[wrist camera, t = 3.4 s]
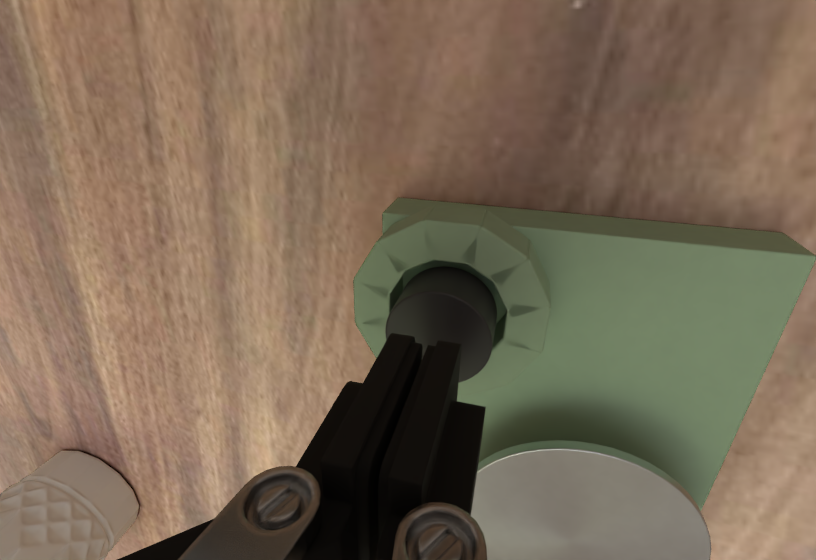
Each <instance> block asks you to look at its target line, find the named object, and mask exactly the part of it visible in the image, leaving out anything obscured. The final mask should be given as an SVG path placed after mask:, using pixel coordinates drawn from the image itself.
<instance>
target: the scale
mask: <svg viewBox="0 0 816 560" xmlns="http://www.w3.org/2000/svg"><path fill="white" fill-rule="evenodd" d="M382 225H383V235H382V236H381V237H380V238H379V239H378V241H377V242H376V243H375V245H374V247H373V248H372V250H371V251H370V253H369V255H368V256H367V258H366V259H365V261H364V263H363V264H362V266H361V267H360V269H359V271H358V272H357V274H356V276H355V277H354V281H353V283H354V310H355V323H356V326H357V327H358V329H359V331H360V332H361V334H362V336H363V337H364V339H365V340H366V342H367V344H368V345H369V347H370V349H371V350H372V352H373V353H374V355H375V357H376V358H377V357H378V355H379V353H380V352H381V350H382V348H383V346H384V344H385V342H386V333H385V329H386V322H387V319H388V316H389V314H390V312H391V310H392V309H393V307H394V305H395V303H396V302H397V300H398V298H399V297H400V295H401V293H402V291H403V290H404V288H405V286H406V285H407V283H408V282H409V281H410V280H411V279H412V278H413V277H414V276H415V275H417V274H418V273H420V272H422V271H424V270H426V269H429V268H433V267H441V266H447V267H455V268H459V269H462V270H465V271H467V272H470V273H471V274H473V275H475V276H476V277H477V278H479V279H480V280H481V281H482V282H483V283H484V284H485V285H486V286H487V287H488V289H489V290H490V292H491V293H492V295H493V297H494V300H495V303H496V307H497V320H496V327H495V333H494V340H493V346H492V352H491V355H490V358H489V360H488V362H487V364H486V365H485V367H484V368H483V369H482V370H481V371H480V372H479V373H478V374H476V375H475V376H473V377H472V378H470V379H468V380H466V381H463V382H459V383H458V395H457V401H458V402H463V403H468V404H474V405H479V406H484V407H486V410H485V418H484V426H483V434H482V442H481V449H480V456H479V463H480V462H481V461H482V460H484V459H485V458H487V457H489V456H491V455H492V454H494V453H496V452H499V451H501V450H504V449H506V448H509V447H512V446H516V445H520V444H524V443H530V442H537V441H549V440H567V441H580V442H587V443H594V444H599V445H603V446H607V447H611V448H615V449H618V450H620V451H623V452H626V453H629V454H632V455H634V456H636V457H638V458H641V459H643V460H645V461H647V462H649V463H651V464H652V465H654V466H656V467H657V468H659V469H661V470H662V471H664V472H665V473H666V474H668V475H669V476H670V477H672V478H673V479H674V480H676V481H677V482H678V483H679V484H680V485H681V486H682V487H683V488H684V489H685V490H686V491H687V492H688V493H689V494H690V496H691V497H692V498H693V500H694V501H695V502H696V504H697V505H698V507H699V509H700V511H701V510H702V507H703V505H704V503H705V501H706V499H707V496H708V494H709V492H710V490H711V488H712V486H713V483H714V481H715V479H716V477H717V475H718V472H719V470H720V468H721V466H722V464H723V461H724V459H725V457H726V455H727V453H728V451H729V448H730V446H731V444H732V442H733V440H734V437H735V435H736V433H737V431H738V429H739V426H740V424H741V422H742V420H743V418H744V416H745V413H746V411H747V409H748V407H749V405H750V402H751V400H752V398H753V396H754V394H755V391H756V389H757V387H758V385H759V383H760V381H761V378H762V376H763V374H764V372H765V370H766V367H767V365H768V363H769V361H770V359H771V357H772V354H773V352H774V350H775V348H776V346H777V343H778V341H779V339H780V337H781V335H782V332H783V330H784V328H785V326H786V324H787V322H788V319H789V317H790V315H791V313H792V311H793V308H794V306H795V304H796V302H797V300H798V297H799V295H800V293H801V291H802V289H803V287H804V284H805V282H806V280H807V278H808V276H809V273H810V271H811V269H812V267H813V265H814V262H815V260H816V255H814V254H813V253H811V252H810V251H809V250H807V249H806V248H804V247H803V246H801V245H800V244H798V243H797V242H796V241H794V240H793V239H791V238H790V237H788V236H787V235H785V234H784V233H779V232H768V231H757V230H747V229H736V228H725V227H714V226H703V225H692V224H681V223H670V222H660V221H649V220H638V219H627V218H616V217H605V216H594V215H583V214H572V213H562V212H551V211H540V210H529V209H518V208H507V207H496V206H485V205H474V204H464V203H453V202H442V201H431V200H420V199H409V198H397V199H396V200H395V201H394V202H393V203H392V204H391V205H390V206H389V207H388V208H387V209H386V210H385V211H384V212H383V214H382Z"/></svg>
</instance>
